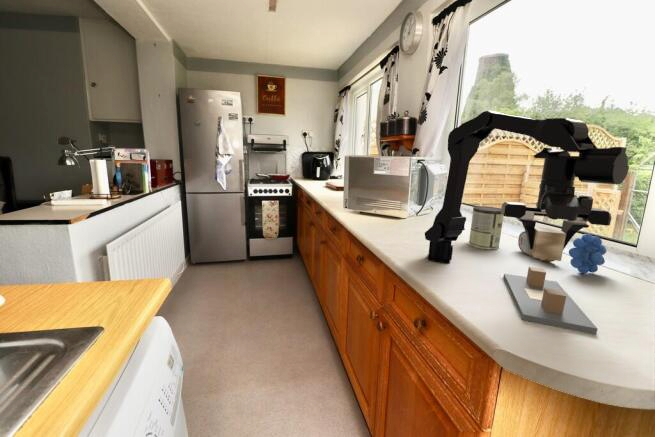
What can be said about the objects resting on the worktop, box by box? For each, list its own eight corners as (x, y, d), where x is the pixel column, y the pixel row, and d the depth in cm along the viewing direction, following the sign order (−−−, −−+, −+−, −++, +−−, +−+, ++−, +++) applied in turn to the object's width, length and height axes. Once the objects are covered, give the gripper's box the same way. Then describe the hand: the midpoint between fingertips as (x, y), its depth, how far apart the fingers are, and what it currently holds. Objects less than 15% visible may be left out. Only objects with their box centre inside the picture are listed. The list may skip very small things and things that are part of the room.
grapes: (579, 280, 84) (589, 237, 81) (558, 270, 90) (566, 231, 88) (615, 279, 86) (625, 237, 83) (591, 270, 92) (600, 231, 90)
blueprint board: (522, 319, 61) (526, 295, 60) (503, 277, 83) (506, 259, 82) (596, 334, 57) (602, 308, 56) (555, 285, 79) (559, 266, 78)
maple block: (533, 257, 67) (538, 231, 66) (528, 251, 72) (532, 226, 70) (561, 261, 65) (566, 233, 64) (553, 254, 70) (558, 229, 69)
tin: (558, 265, 95) (563, 239, 94) (549, 265, 95) (554, 239, 93) (522, 250, 110) (526, 227, 108) (514, 250, 110) (518, 227, 108)
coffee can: (470, 240, 121) (475, 205, 118) (499, 245, 116) (505, 208, 113) (466, 246, 113) (471, 208, 110) (497, 251, 107) (504, 212, 104)
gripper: (513, 180, 61) (502, 254, 64) (634, 185, 55) (615, 269, 58) (505, 177, 71) (496, 242, 74) (605, 182, 65) (591, 253, 68)
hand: (544, 250), depth 68 cm, fingers closed on maple block, 5 cm apart
